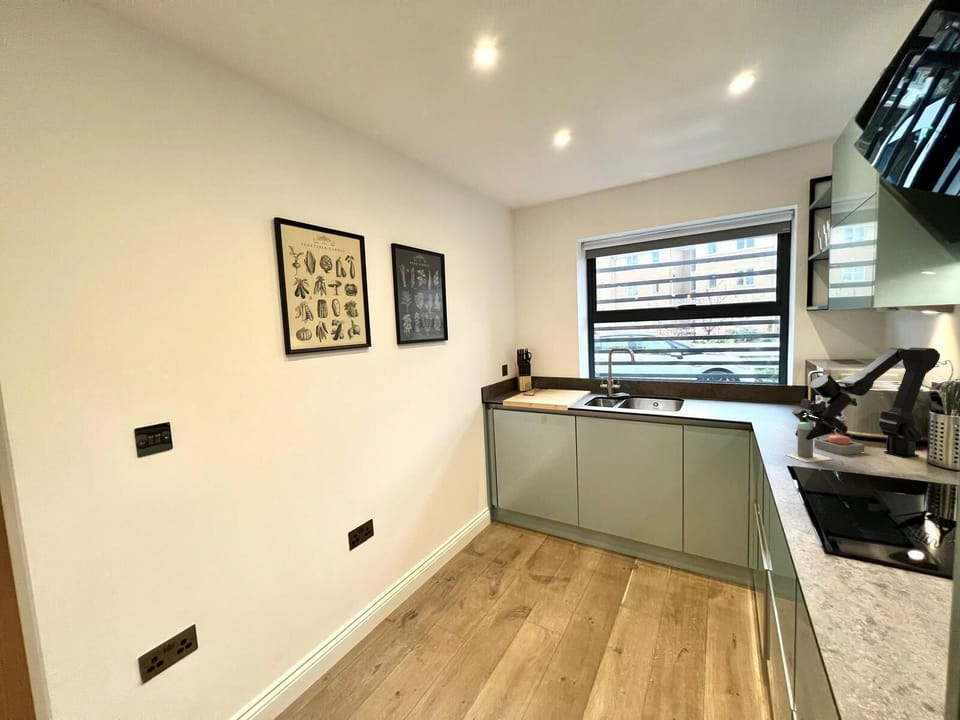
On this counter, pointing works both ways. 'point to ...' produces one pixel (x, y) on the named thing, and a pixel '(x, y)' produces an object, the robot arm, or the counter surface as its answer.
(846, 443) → the button
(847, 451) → the button box
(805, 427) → the grey green-topped canister
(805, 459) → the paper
